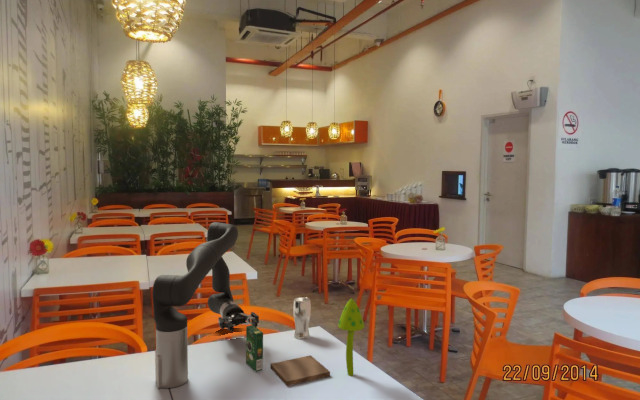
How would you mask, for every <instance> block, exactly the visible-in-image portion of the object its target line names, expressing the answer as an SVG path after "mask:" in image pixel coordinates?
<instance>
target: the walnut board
mask: <svg viewBox="0 0 640 400" xmlns="http://www.w3.org/2000/svg"><path fill="white" fill-rule="evenodd" d="M269 365H270V366H269V367H270V369H271V370H272V372H273V374H275V375H276V376H277V377H278V378H279V379H280V380H281V382H282V383H284V385H285V386H286V387H290V386H295V385H299V384H302V383H307V382H312V381H317V380H318V379H319V380H320V379H323V378H329V377H331V371H330V370H329V369H328V368H327V367H325V366H324V365H323V364H322V363H320V362H319V361H318V360H317V359H316V358H315V357H313V355H305V356H300V357H296V358H291V359H287V360H286V359H285V360H281V361H276V362H272V363H270V364H269Z"/></svg>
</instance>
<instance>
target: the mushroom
mask: <svg viewBox="0 0 640 400" xmlns="http://www.w3.org/2000/svg"><path fill="white" fill-rule="evenodd" d="M337 326H338V328H339V329H340V330H343V331H347V339H346V345H345V346H346V347H345V360H346V361H345V362H346V372H347V375H348V376H349V377H352V376H354V336H355V332H357V331H361V330H363V329H365V322H364V320H363V316H362V314H361V311H360V308H359V306H358V304H357V303H356V301H355V300H354V299H353V298H350V299H349V300H348V301H347V303H346V304H345V306H344V308H343V310H342V312H341V314H340V318H339V320H338V324H337Z"/></svg>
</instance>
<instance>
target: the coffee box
mask: <svg viewBox="0 0 640 400" xmlns="http://www.w3.org/2000/svg"><path fill="white" fill-rule="evenodd" d="M245 328H246V330H245V331H246V332H245V333H246V335H245V340H246V341H245V342H246V344H245V349H246V350H245V352H246V353H245V356H246V357H245V363H246V365H247V366H248V367H250V368H251V369H252V370H253V371H254V372H255V373H257V372H261V371H263V368H264V367H263V366H264V365H263V363H264V362H263V361H264V360H263V359H264V332H263V331H262V330H260V329H259V328H258V327H255V326H254V325H252V324H250V325H246V327H245Z"/></svg>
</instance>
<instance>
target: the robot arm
mask: <svg viewBox="0 0 640 400" xmlns="http://www.w3.org/2000/svg"><path fill="white" fill-rule="evenodd" d="M206 235H207V236H206V238H207V239H206V240H207V241H206V242H202V243H200V244H198V245H196V247H194V249H193V250H192V251H191V252H190V253H189V254H188V256H187V258H186V263H185V264H186V269H187V273H185V274H183V275H173V274H161V275H158V276H157V277H156V279H155V280H154V282H153V285H152V295H151V296H152V308H153V309H152V310H153V321H154V323H155V347H156V348H155V352H154V356H155V357H154V362H155V366H154V367H155V382H156V383H155V384H156V386H157V389H161V388H162V389H163V388H164V389H165V388H167V389H169V388H171V389H172V388H177V387H181V386H182V385H184V384H186V383H187V382H188V380H189V368H188V367H189V366H188V365H189V362H188V361H189V355H188V354H189V353H188V351H189V349H188V347H189V345H188V342H189V341H188V339H189V338H188V317H187V316H186V315H185V314H184V313H182V312H180V311H178V310H177V309H176V308H175V307H184V306H186V305H187V304H188V303H190V301H191V300H192V298H193V296H194V295H195V293H196V292H197V290H198V288H199V286H200V284H201V283H202V282H203V280H204V279H205V278H206V276H207V275H208V274H209V273H210V272H211V275H212V276H211V279H212V280H211V286H212V290H213V291H214V292H216V293H213V294H211V295H209V297H208V298H207V306H208V309H209V310H210V312H213V313H214V314H218V315H220V316H219V317H218V319H217V320H218V323H217V324H218V326H219V328H220V329H221V330H225V329H226V330H228V331H230V332H231V333H232V332H234V331H235V329H234V328H235V327H236V326H239V325H246V326H249V325H254V326H255V327H256V328H258V324H259V323H260V320H259V319H260V316H259V315H258V314H257V313H255V312H252V311H251V312H250V314H247V313H245V312H244V309H243V308H241V306H239V305H238V304H237V303H236V302H234V297H233V294H232V290H231V287H230V285H231V284H230V279H231V278H230V275H231V273H230V269H229V267H228V264H227V262H226V261H225V260H224V258H223V255H225V254H226V253H227V252H228V251H229V250H231V249H232V248H233V246H234V245H235V244H236V242H237V239H238V236H239V230H238V228H237V226H236V225H235V224H231V223H225V222H218V221H217V222H216V221H214V222H212V223H210V225H209V226H208V228H207V233H206Z"/></svg>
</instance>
